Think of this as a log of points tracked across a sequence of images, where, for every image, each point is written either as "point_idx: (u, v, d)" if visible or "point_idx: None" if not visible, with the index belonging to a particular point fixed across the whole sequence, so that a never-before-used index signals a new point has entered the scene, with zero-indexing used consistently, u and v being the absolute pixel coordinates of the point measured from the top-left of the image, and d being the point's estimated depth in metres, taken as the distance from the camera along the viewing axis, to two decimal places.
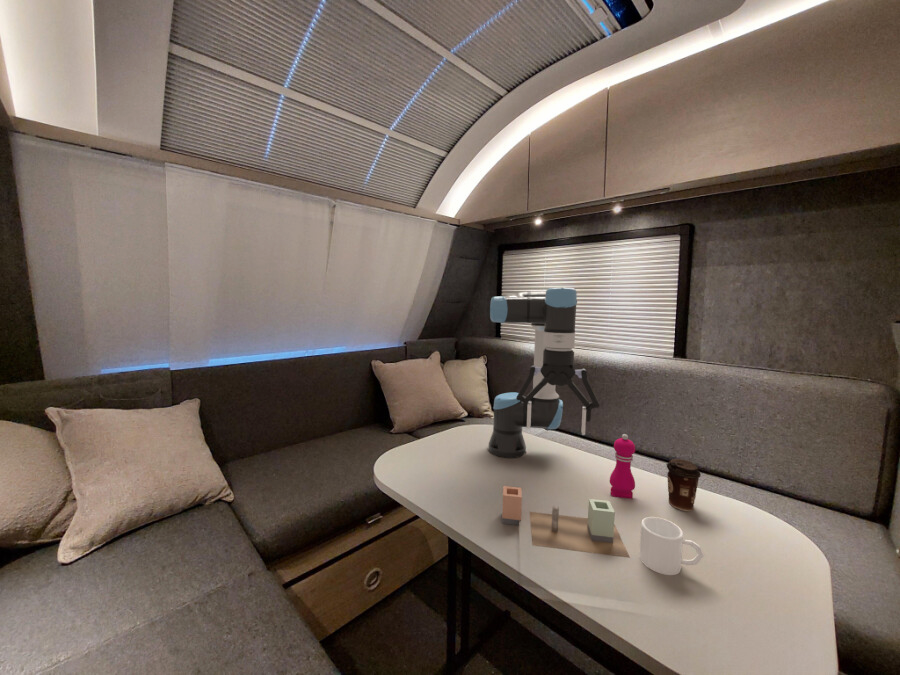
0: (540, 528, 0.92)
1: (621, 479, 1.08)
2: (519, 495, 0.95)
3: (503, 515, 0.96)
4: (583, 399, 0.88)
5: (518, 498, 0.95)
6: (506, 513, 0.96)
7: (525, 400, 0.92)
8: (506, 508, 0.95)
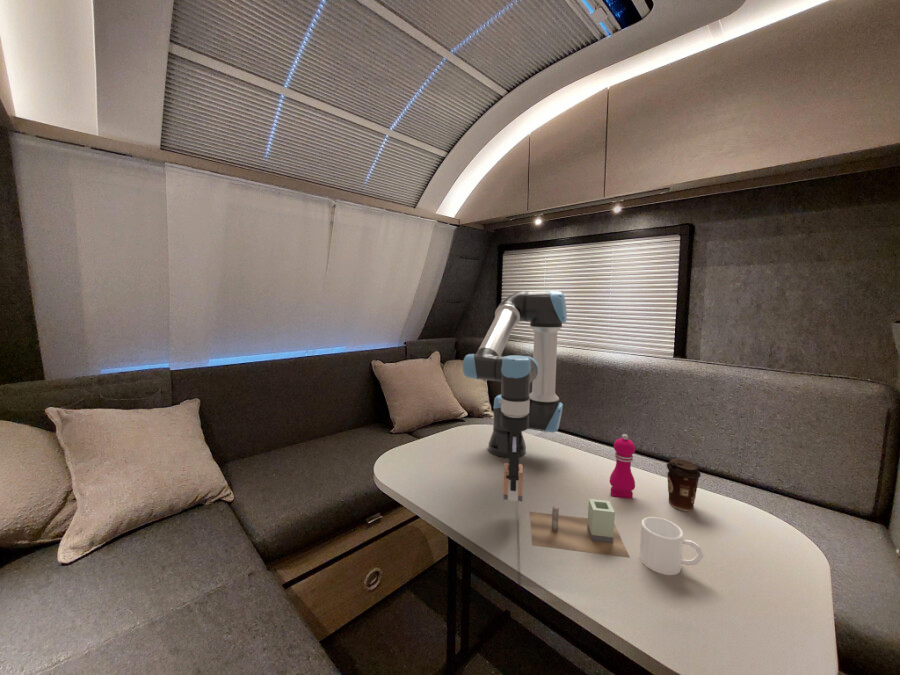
0: (540, 528, 0.92)
1: (621, 479, 1.08)
2: (520, 471, 0.95)
3: (504, 491, 0.96)
4: None
5: (519, 474, 0.94)
6: (507, 489, 0.95)
7: None
8: (507, 484, 0.95)
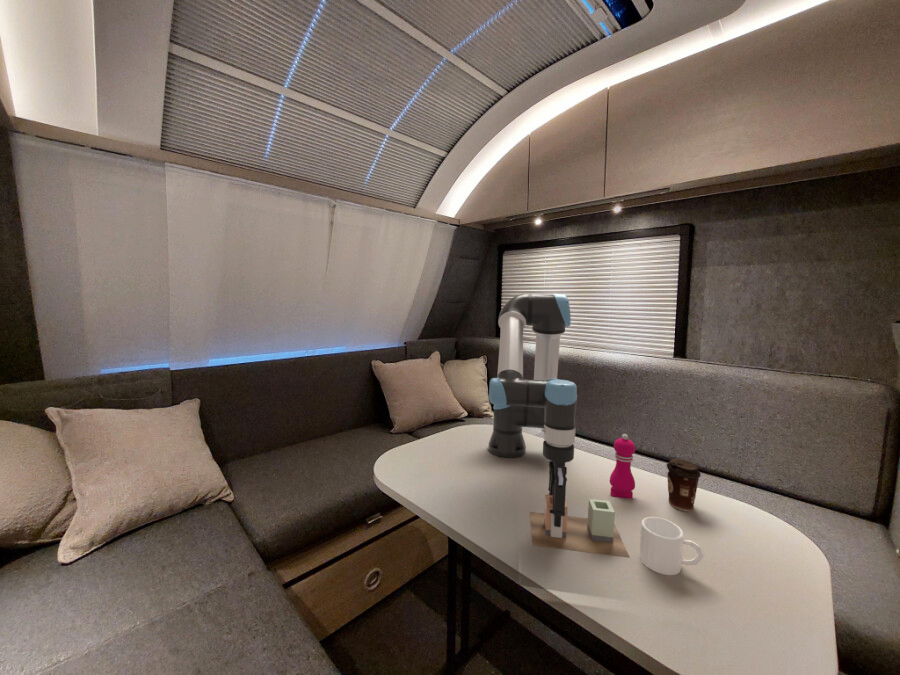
0: (540, 528, 0.92)
1: (621, 479, 1.08)
2: None
3: (547, 526, 0.89)
4: (553, 500, 0.87)
5: None
6: (550, 524, 0.89)
7: (549, 493, 0.94)
8: (550, 519, 0.88)
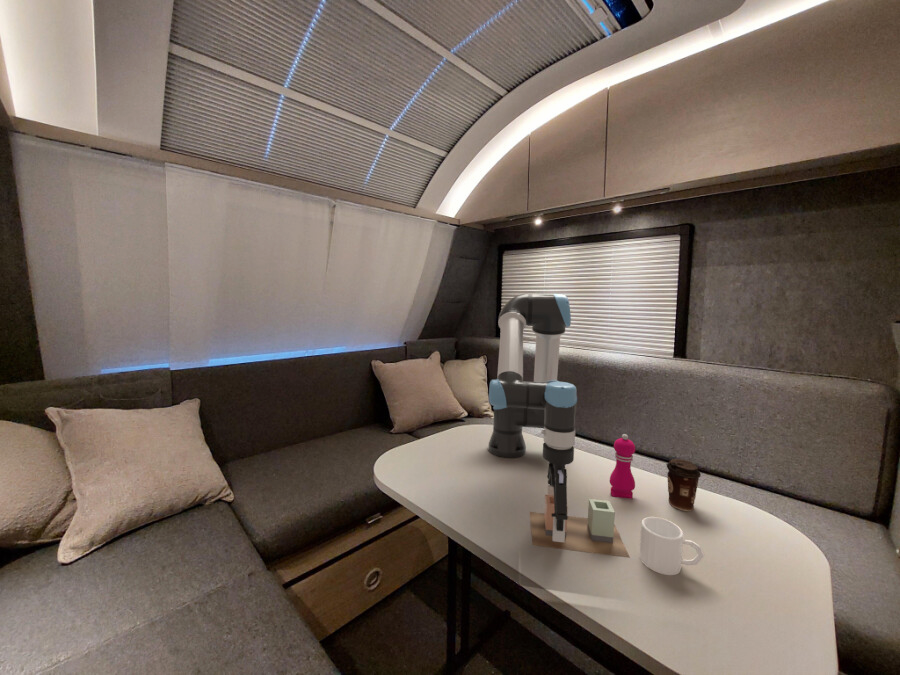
0: (540, 528, 0.92)
1: (621, 479, 1.08)
2: None
3: (547, 526, 0.89)
4: (554, 503, 0.84)
5: None
6: (550, 524, 0.89)
7: (548, 481, 0.98)
8: (550, 519, 0.88)
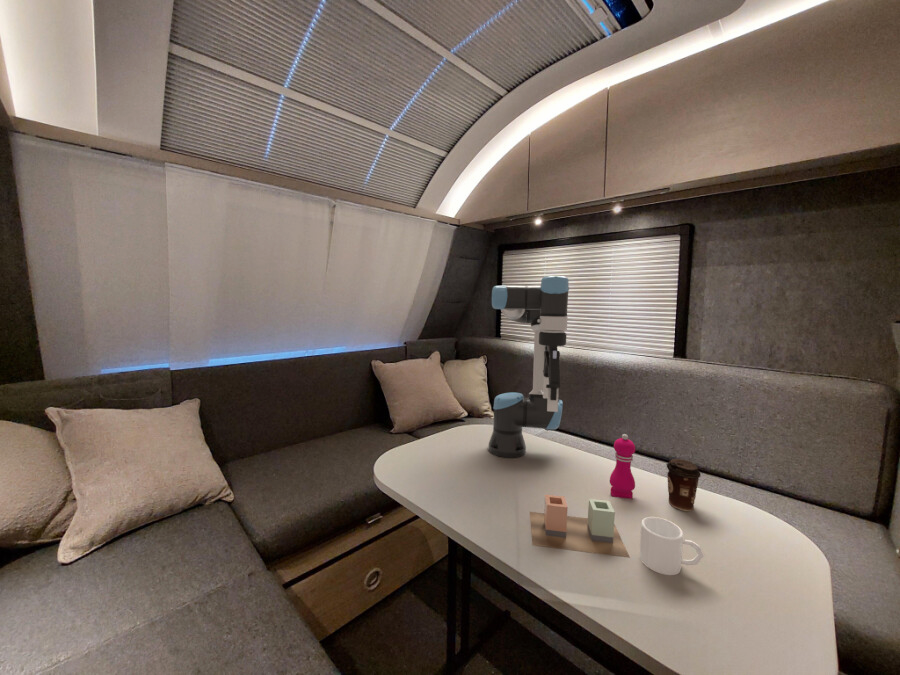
0: (540, 528, 0.92)
1: (621, 479, 1.08)
2: (564, 505, 0.88)
3: (547, 526, 0.89)
4: (548, 377, 0.95)
5: (563, 508, 0.88)
6: (550, 524, 0.89)
7: (543, 373, 1.09)
8: (550, 519, 0.88)
